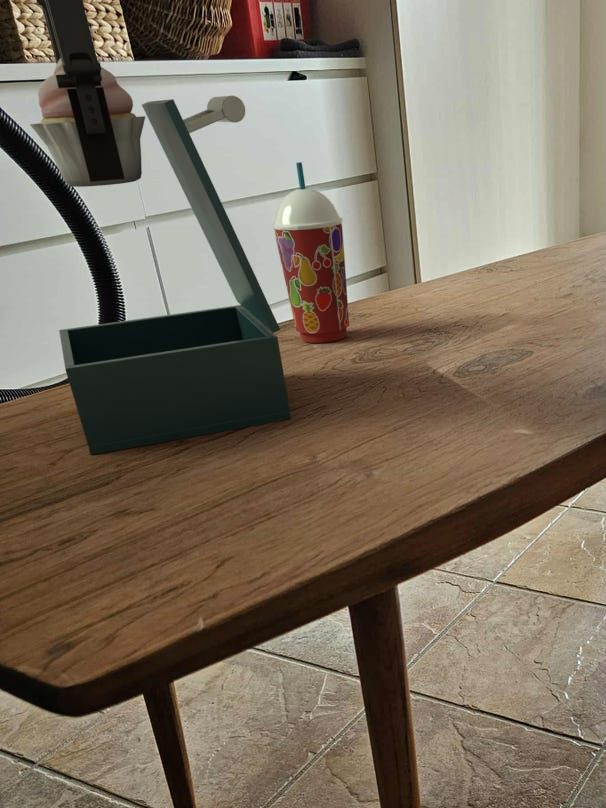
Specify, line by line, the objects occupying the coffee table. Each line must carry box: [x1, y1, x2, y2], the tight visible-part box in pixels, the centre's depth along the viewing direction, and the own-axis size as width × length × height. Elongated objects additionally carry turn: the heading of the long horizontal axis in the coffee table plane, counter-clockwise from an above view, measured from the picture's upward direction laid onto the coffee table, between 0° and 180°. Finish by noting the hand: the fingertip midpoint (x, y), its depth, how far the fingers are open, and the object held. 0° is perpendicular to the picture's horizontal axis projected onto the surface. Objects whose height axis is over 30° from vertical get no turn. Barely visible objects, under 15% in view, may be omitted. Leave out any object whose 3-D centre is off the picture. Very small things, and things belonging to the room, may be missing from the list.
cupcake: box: [29, 58, 146, 188], centre depth 76 cm, size 9×9×10 cm
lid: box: [141, 95, 281, 334], centre depth 85 cm, size 19×18×7 cm
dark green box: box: [59, 304, 292, 456], centre depth 89 cm, size 19×18×8 cm
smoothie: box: [271, 161, 350, 344], centre depth 110 cm, size 8×8×20 cm
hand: (103, 176), depth 78 cm, fingers closed on cupcake, 9 cm apart
